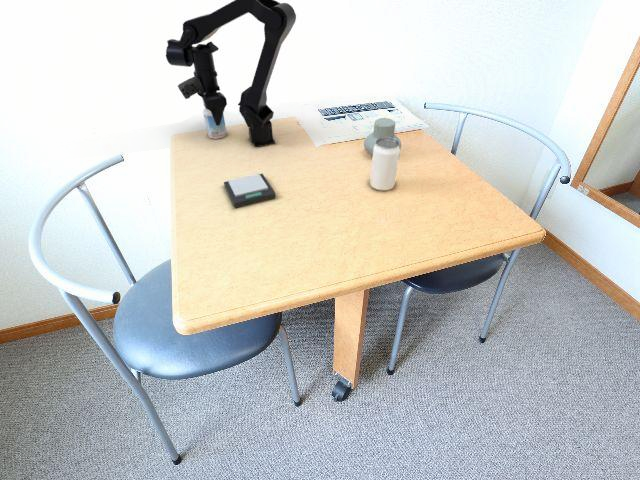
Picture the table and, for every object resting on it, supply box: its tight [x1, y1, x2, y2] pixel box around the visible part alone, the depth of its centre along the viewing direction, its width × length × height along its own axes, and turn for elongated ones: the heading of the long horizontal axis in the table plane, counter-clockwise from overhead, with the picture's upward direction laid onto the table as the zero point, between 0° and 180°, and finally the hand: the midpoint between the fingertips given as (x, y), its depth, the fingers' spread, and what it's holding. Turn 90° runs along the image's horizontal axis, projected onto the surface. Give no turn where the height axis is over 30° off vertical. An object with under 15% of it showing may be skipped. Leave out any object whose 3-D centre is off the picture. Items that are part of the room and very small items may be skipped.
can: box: [369, 138, 401, 192], centre depth 93 cm, size 6×6×12 cm
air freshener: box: [363, 117, 402, 157], centre depth 107 cm, size 11×8×10 cm
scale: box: [223, 173, 276, 209], centre depth 94 cm, size 10×10×2 cm
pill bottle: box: [202, 103, 228, 140], centre depth 117 cm, size 6×6×11 cm
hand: (214, 119), depth 117 cm, fingers open, 9 cm apart
